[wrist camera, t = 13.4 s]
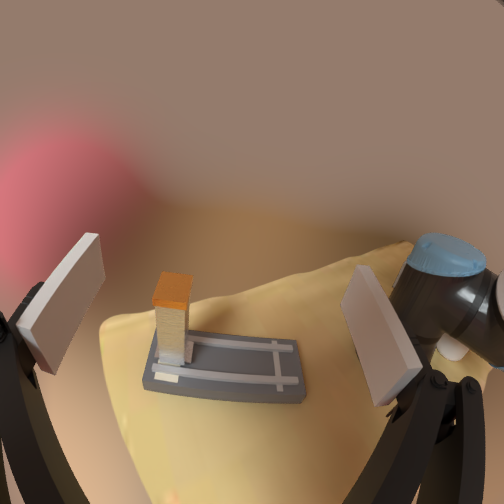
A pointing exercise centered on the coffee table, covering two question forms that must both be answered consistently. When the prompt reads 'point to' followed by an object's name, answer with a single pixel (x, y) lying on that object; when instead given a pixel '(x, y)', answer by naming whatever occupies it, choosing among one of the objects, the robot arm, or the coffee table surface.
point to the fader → (173, 318)
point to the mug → (451, 348)
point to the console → (231, 370)
